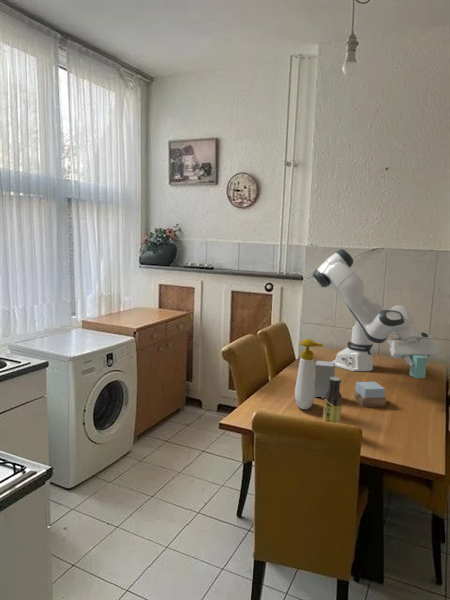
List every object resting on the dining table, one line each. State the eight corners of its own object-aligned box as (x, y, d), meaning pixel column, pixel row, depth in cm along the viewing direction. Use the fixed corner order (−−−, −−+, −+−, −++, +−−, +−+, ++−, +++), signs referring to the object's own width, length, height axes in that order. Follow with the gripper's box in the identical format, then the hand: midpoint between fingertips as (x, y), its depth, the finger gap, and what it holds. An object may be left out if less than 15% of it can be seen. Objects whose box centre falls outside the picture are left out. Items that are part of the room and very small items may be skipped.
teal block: (409, 374, 191) (411, 354, 189) (419, 374, 191) (421, 354, 190) (415, 378, 186) (417, 357, 185) (425, 377, 187) (427, 357, 185)
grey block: (355, 390, 194) (355, 382, 194) (374, 390, 196) (374, 381, 195) (364, 398, 186) (365, 389, 185) (384, 397, 187) (385, 388, 186)
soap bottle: (319, 414, 176) (324, 344, 172) (293, 411, 178) (297, 342, 174) (318, 402, 189) (323, 336, 184) (294, 400, 191) (298, 335, 186)
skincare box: (333, 395, 198) (336, 361, 195) (332, 400, 191) (334, 366, 189) (314, 392, 201) (317, 359, 198) (312, 398, 194) (315, 363, 191)
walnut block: (353, 398, 196) (354, 390, 195) (374, 398, 197) (375, 389, 196) (362, 407, 186) (363, 398, 185) (385, 407, 187) (385, 398, 186)
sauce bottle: (319, 425, 166) (323, 375, 163) (335, 425, 166) (339, 375, 163) (325, 433, 159) (328, 380, 156) (341, 433, 160) (345, 380, 157)
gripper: (389, 334, 192) (399, 362, 183) (433, 334, 194) (444, 361, 186) (383, 342, 197) (393, 369, 189) (426, 341, 199) (437, 368, 191)
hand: (419, 365), depth 187 cm, fingers closed on teal block, 4 cm apart
